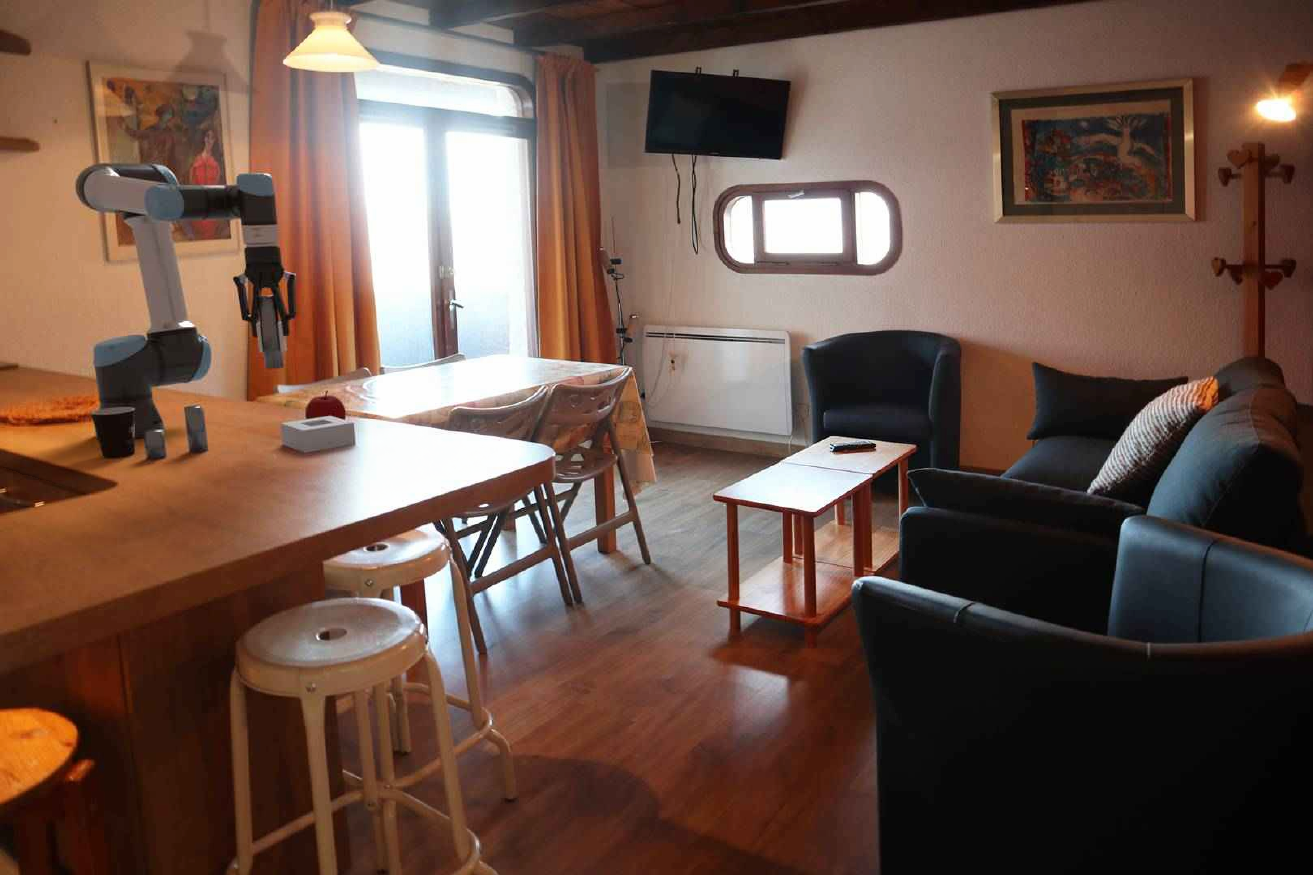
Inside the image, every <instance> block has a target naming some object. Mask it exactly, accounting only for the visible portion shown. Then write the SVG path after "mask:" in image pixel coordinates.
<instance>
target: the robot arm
mask: <svg viewBox="0 0 1313 875" xmlns="http://www.w3.org/2000/svg"><path fill="white" fill-rule="evenodd" d="M235 179H236V180H235V182H236V184H201V185H200V184H196V185H194V184H193V185H191V184H180V183H179V181H178V179H177V178H176V176H175V174H174V173H173V172H172V171H171V170H170V169H169V168H168V167H166V166H165V165H162V164H154V163H153V164H152V163H148V162H144V163H143V162H142V163H141V162H140V163H134V162H133V163H132V162H131V163H129V162H128V163H125V162H124V163H120V162H119V163H111V162H102V163H95V164H92V165H89V166H87V167H86V168H84V169H83V170H81V172H80V173H79V174H78V176H77V177H76V180H75V183H74V184H75V186H74V188H75V194H76V196H77V198H78V200H79V201H80V202H81V203H82V204H83V205H84V206H85V207H87V208H88V209H90V210H93V211H96V212H101V213H106V214H107V213H111V214H112V213H113V214H122V218H123V222H124V224H126V225H128V227H130V228H131V229H132V234H133V235H132V236H133V239H134V244H135V249H136V253H137V259H138V263H139V264H138V265H139V270H140V275H141V279H142V284H143V289H144V294H145V300H146V306H147V310H148V314H149V320H150V324H151V325H150V327H149V328H148V330H147V331H146V332H145V333H146V334H145V335H146V336H144V335H143V334H132V335H131V334H130V335H126V336H125V335H123V336H117V337H113V338H109V339H105V340H102V341H99V342H98V343H97V344H95V345H94V347H93V365H94V370H95V378H96V379H95V380H96V386H97V393H98V401H99V408H98V410H100V409H107V408H117V407H131V408H134V409H135V439H139V438H140V439H141V438H144V431H146V430H152V429H163V430H164V431H165V423H164V420H163V418H162V415H161V414H160V412H159V410H158V407H157V405H156V404H155V402H154V396H153V388H157V387H158V388H159V387H164V386H171V385H179V384H188V383H190V382H194V381H195V382H196V381H200V380H202V379H204V377H206V375H207V374H208V373H209V370H210V367H211V365H212V364H211V363H212V349H211V348H212V347H211V344H210V342H209V341H208V338H207V337H206V336H205V335H204V334H201V333H198V329H197V326H196V325H195V324H194V323H192V322H191V321H190V320H189V317H188V313H187V312H188V310H187V305H186V301H185V297H184V296H185V295H184V292H183V285H182V281H181V275H180V270H179V265H178V264H179V263H178V260H177V253H176V249H175V244H174V240H173V239H174V238H173V232H172V227H171V224H172V223H173V222H178V221H179V222H180V221H181V222H182V221H234V220H240V224H241V233H242V234H241V235H242V243H243V245H244V246H246V247H244V249H243V253H244V261H245V269H244V271H243V273H240V274H239V275H235V276H233V277H232V280H233V283H234V285H235V286H236V289H237V296H238V297H237V298H238V302H239V309H240V315H241V320H242V321H245V322H248V323H250V325H251V332H252V337H253V338H257V343H258V344H257V345H258V346H257V347H258V352H259V354H260V353H263V354H264V351H263V342H262V333H261V324H260V315H259V306H258V297H259V296H262V293H263V289H265V288H266V289H270V291H271V293H272V295H273V296H274V299H275V303H276V306H277V309H278V314H279V322H278V329H279V339H280V348H281V352H284V353H285V352H286V351H288V348H287V338H286V337H289V336H290V334H291V332H290V331H291V330H290V321H291V320H292V319H294V318H296V317H297V315H298V314H297V298H296V282H297V280H298V279H297V278H298V274H296V273H292V272H288V271H286V270H285V268H284V266H283V264H282V254H281V247H279V245H278V244H279V243H280V235H279V226H278V215H277V205H276V192H275V188H274V183H273V177H272V175H270V174H269V173H265V172H260V173H259V172H257V173H256V172H255V173H254V172H253V173H251V172H250V173H240V174H238V175H237V176H236V178H235ZM283 277H284V281H285V282H286V293H287V306H288V307H287V308H286V305H285V301H284V298H283V296H282V293H281V287H280V283H281V281H282V279H283ZM247 280H248V281H249V282H250V283H251V284H252V285H253V286H252V301H251V313H250V307H249V301H248V300H249V299H248V295H247V288H246V283H247ZM287 309H288V311H287ZM94 433H95V438H96V439H98V437H97V433H96V429H95V428H94Z"/></svg>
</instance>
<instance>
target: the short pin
mask: <svg viewBox="0 0 1313 875" xmlns="http://www.w3.org/2000/svg"><path fill="white" fill-rule="evenodd" d="M165 438H166V437H165V430H163V429H152V430H146V431H144V437H143V440H144V446H145V447H144V448H145V454H146V455H145V456H146V460H148V461H152V460H153V461H157V460H162V459H166V458H167V457H168V456H167V446H166V439H165Z"/></svg>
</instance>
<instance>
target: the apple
mask: <svg viewBox="0 0 1313 875" xmlns="http://www.w3.org/2000/svg"><path fill="white" fill-rule="evenodd" d="M328 392H329V391H328V390H325V394H324V395H322V396H321V395H320V396H315V397H312V399H310V401H309V402H308V403H307V406H306V408H305V420H306V419H312V418H319V417H325V416H333V417H336V418H340V419H343V420H346V416H347V415H346V414H347V412H346V411H347V410H346V407H345V405H344V404H343V402H342V401H341V400H340V399H339V398H338V397H336V396H334V395H327V394H328Z"/></svg>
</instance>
